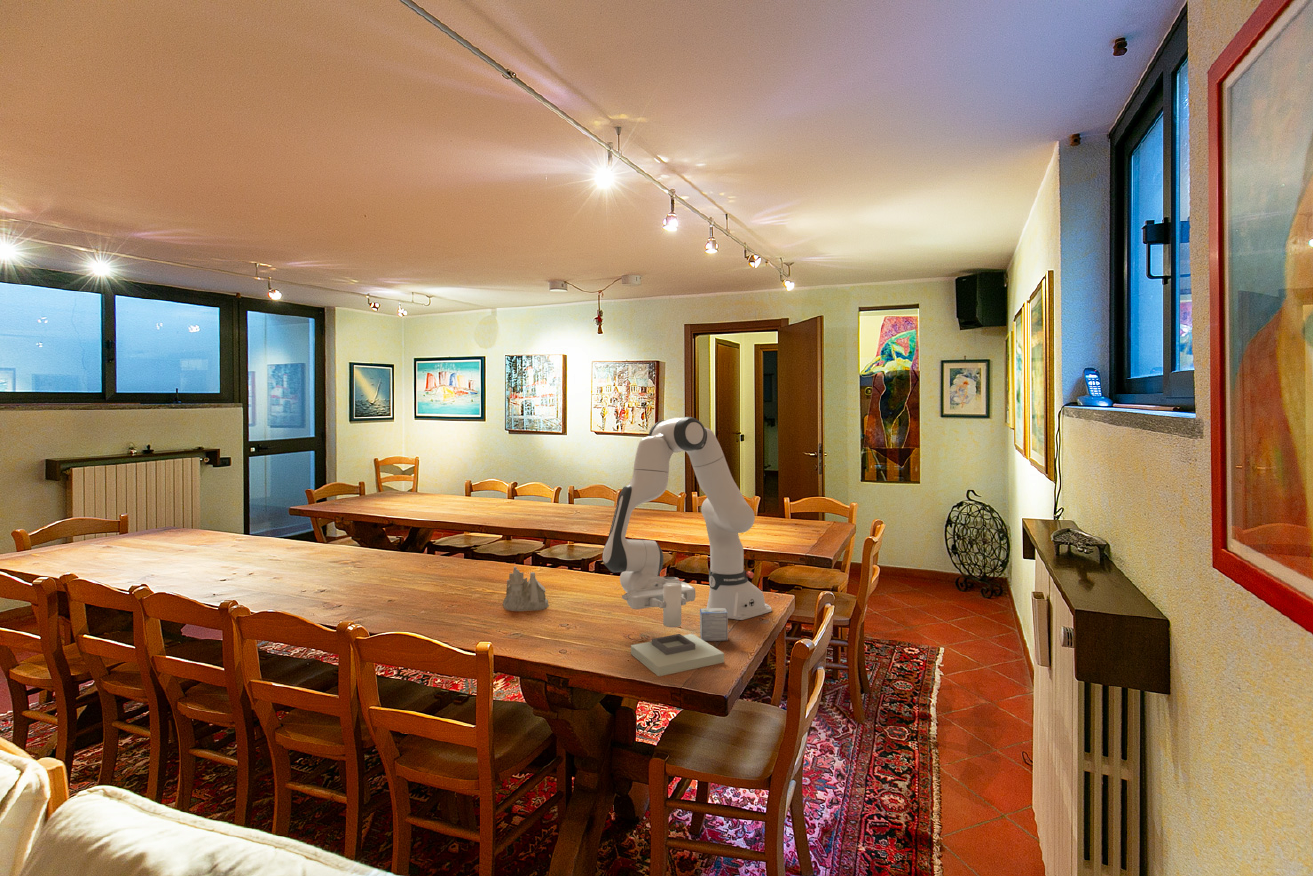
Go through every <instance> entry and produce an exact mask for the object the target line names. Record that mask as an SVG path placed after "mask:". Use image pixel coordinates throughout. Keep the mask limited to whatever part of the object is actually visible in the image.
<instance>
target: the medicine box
mask: <svg viewBox="0 0 1313 876" xmlns="http://www.w3.org/2000/svg"><path fill="white" fill-rule="evenodd" d="M728 620H729V618H728V613H727V610H726V609H725V608H707V607H706V608H705V607H704V608H703V607H702V608H700V609H699V630H700V631H699V635H700V636H699V637H700V639H702V640H704V641H705V642H707V641H708V642H717V641H718V642H719V641H720V642H721V641H724V642H725V641H728V640H729V639H728V635H729V633H728V632H729V631H728V626H729V625H728V623H729V621H728Z"/></svg>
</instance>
